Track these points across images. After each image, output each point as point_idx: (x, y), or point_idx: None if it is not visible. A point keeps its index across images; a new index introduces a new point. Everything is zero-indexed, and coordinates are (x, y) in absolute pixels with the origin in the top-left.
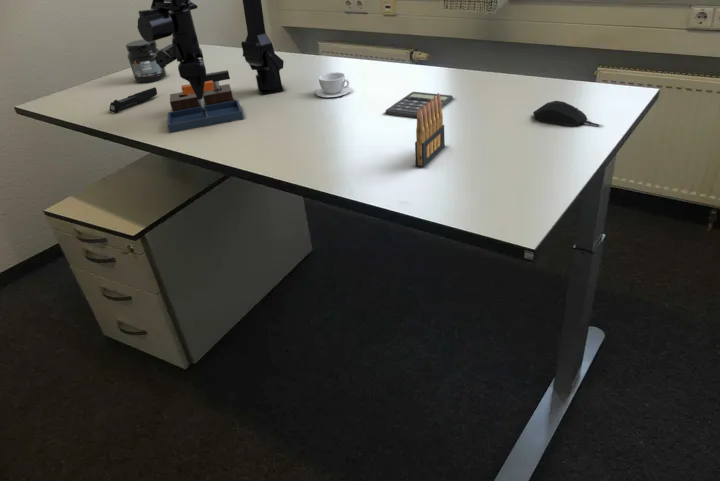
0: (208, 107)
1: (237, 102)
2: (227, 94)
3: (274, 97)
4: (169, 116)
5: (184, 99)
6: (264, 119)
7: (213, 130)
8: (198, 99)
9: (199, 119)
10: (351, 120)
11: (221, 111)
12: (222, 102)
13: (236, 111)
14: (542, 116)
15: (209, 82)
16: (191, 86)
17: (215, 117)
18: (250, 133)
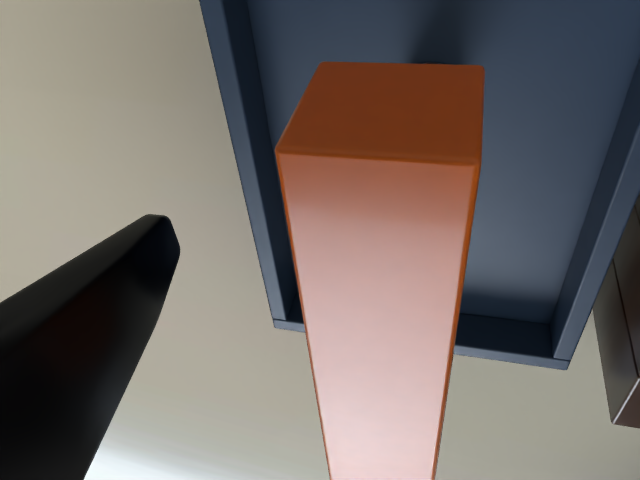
0: (617, 162)
1: (494, 354)
2: (617, 377)
3: (572, 462)
4: None
5: None
6: (236, 350)
7: (131, 109)
8: (151, 215)
9: (212, 55)
10: (139, 474)
11: (502, 222)
12: (628, 285)
13: None
14: None
15: (346, 471)
16: (302, 303)
17: (245, 180)
18: (58, 267)
